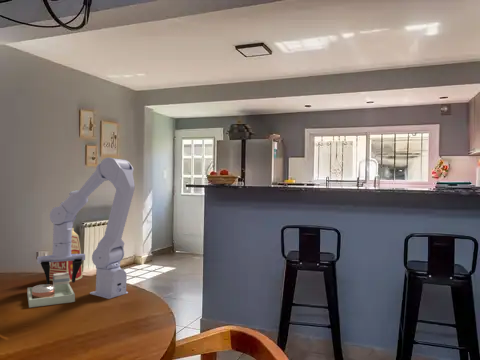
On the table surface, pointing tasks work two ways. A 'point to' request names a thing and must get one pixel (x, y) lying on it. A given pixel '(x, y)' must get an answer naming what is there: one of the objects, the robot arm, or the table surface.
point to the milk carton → (67, 265)
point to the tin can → (43, 291)
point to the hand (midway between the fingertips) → (60, 283)
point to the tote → (61, 296)
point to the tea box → (61, 278)
